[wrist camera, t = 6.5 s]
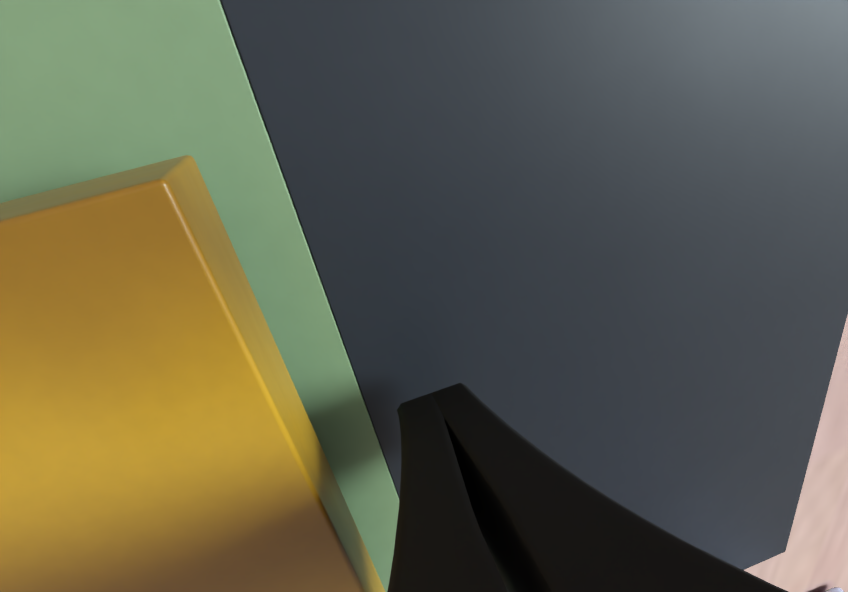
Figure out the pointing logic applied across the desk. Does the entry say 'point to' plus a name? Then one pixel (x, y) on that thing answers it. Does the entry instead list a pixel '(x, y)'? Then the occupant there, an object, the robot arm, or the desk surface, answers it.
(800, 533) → the desk surface
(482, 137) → the desk mat
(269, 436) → the gold bar
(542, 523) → the robot arm
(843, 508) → the desk surface
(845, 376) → the desk surface
